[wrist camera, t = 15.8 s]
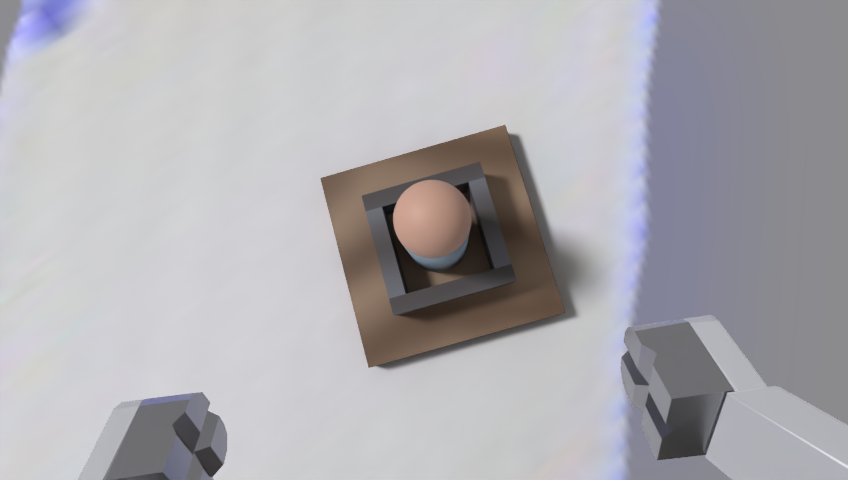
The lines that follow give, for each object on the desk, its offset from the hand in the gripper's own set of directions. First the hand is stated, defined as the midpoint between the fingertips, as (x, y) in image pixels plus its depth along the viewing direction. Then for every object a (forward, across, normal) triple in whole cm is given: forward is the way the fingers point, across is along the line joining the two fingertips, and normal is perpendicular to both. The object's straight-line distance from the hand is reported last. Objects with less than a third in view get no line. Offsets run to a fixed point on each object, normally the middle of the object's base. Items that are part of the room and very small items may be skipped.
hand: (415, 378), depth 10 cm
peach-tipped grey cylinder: (+24, 0, +15) cm, 29 cm away
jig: (+25, -1, +16) cm, 30 cm away
